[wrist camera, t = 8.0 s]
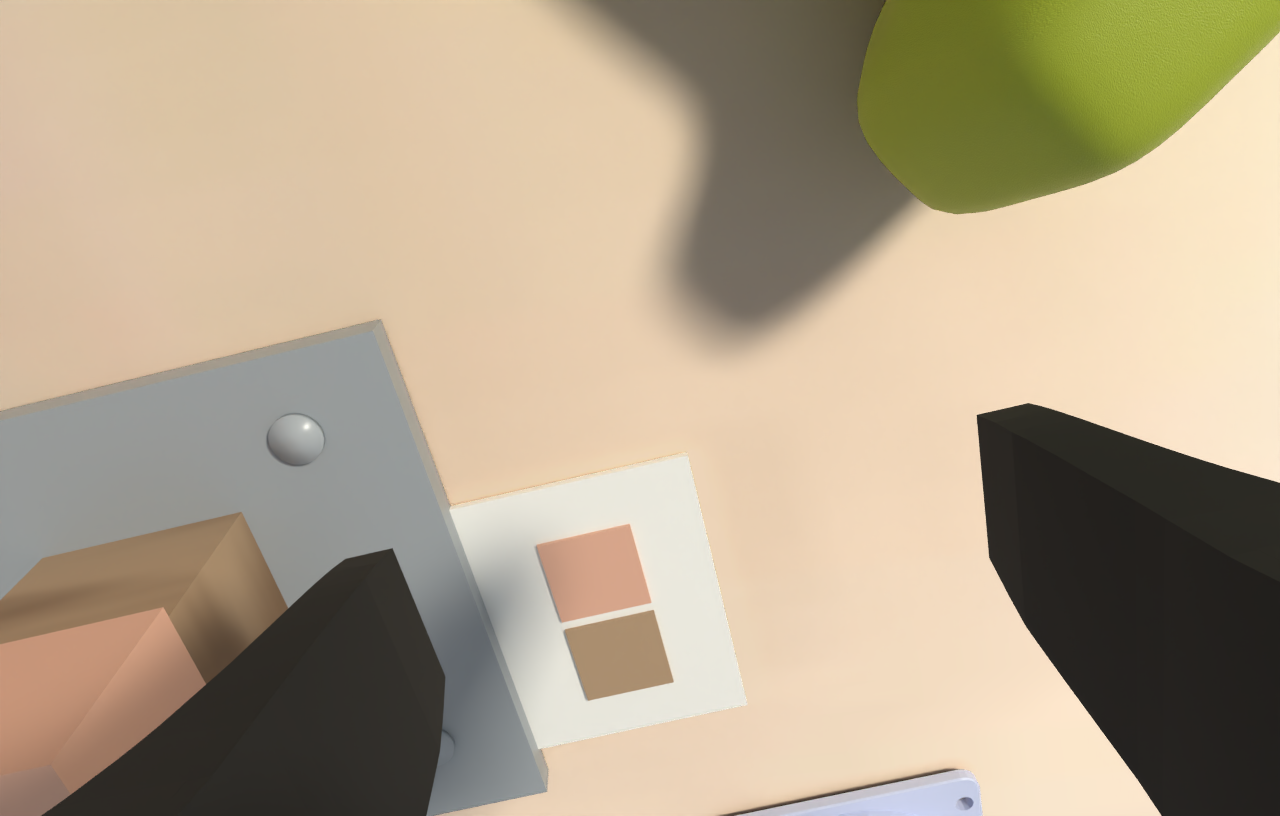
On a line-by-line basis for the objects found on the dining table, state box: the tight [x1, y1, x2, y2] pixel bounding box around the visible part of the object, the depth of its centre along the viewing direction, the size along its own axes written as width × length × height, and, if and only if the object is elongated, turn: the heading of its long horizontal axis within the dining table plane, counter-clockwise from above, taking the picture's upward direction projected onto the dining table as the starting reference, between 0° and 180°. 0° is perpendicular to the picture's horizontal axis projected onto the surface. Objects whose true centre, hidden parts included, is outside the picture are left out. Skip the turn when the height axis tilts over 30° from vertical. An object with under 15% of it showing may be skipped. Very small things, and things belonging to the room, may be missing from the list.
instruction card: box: [449, 452, 748, 749], centre depth 24 cm, size 8×6×1 cm
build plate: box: [0, 319, 548, 816], centre depth 23 cm, size 14×14×1 cm
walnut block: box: [0, 512, 288, 684], centre depth 21 cm, size 5×5×4 cm
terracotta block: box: [0, 607, 206, 816], centre depth 17 cm, size 5×5×4 cm
